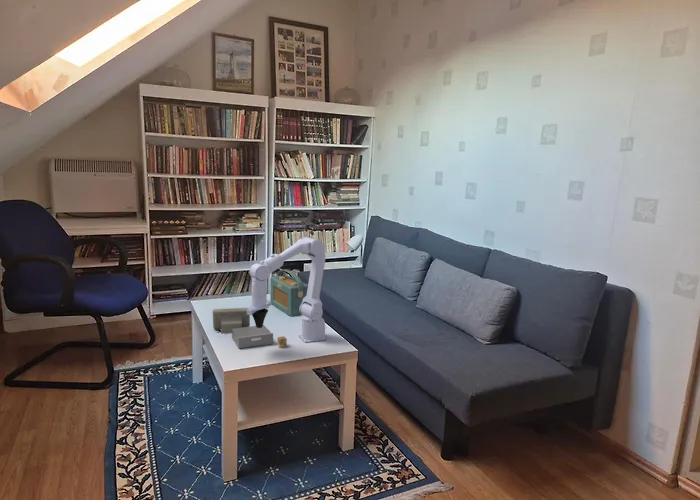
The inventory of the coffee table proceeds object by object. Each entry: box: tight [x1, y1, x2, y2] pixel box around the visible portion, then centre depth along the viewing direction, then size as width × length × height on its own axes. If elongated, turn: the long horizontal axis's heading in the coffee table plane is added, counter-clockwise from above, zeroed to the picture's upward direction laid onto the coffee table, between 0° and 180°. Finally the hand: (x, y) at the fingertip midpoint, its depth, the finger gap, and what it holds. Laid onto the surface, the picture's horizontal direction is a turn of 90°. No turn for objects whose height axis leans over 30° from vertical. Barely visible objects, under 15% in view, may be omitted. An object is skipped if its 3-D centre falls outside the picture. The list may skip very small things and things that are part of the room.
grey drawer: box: [237, 332, 274, 349], centre depth 198 cm, size 14×12×4 cm
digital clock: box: [212, 307, 251, 334], centre depth 209 cm, size 16×9×11 cm, turn 92°
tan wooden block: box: [276, 335, 288, 349], centre depth 194 cm, size 3×3×4 cm
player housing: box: [231, 324, 271, 347], centre depth 199 cm, size 14×12×4 cm
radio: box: [269, 269, 308, 317], centre depth 242 cm, size 26×11×20 cm, turn 33°
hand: (259, 327), depth 187 cm, fingers closed
